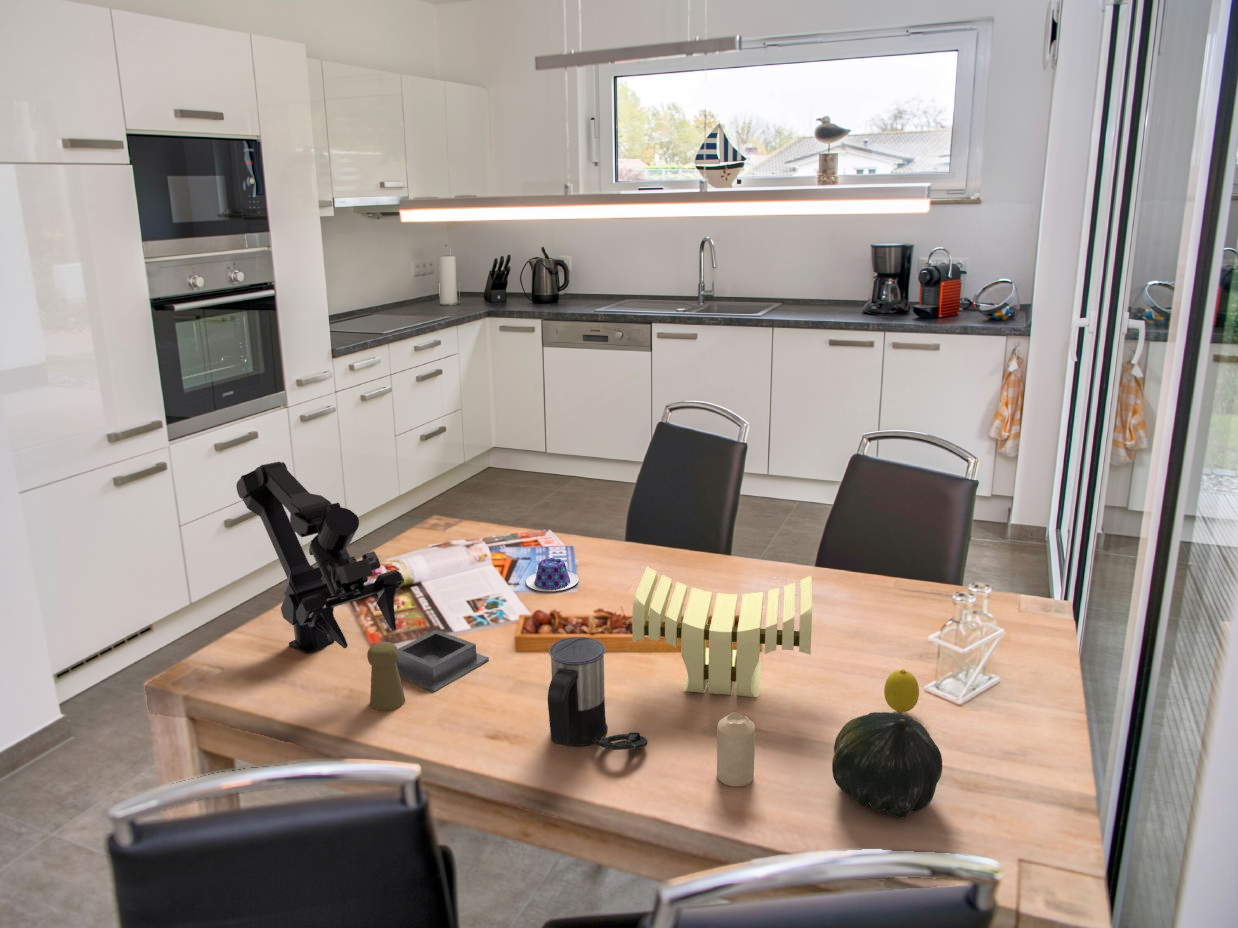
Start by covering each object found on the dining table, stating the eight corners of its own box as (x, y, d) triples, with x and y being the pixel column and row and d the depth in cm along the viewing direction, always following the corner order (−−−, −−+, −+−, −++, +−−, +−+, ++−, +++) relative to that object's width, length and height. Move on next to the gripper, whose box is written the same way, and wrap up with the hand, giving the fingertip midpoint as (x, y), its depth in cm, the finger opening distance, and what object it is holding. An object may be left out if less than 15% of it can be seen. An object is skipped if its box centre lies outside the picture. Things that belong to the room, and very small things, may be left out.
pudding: (557, 598, 200) (556, 576, 198) (515, 587, 206) (514, 565, 204) (588, 579, 209) (588, 558, 208) (547, 569, 215) (546, 548, 214)
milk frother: (554, 715, 154) (551, 635, 150) (648, 715, 153) (647, 635, 149) (545, 765, 140) (541, 679, 136) (647, 765, 139) (646, 679, 135)
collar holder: (382, 669, 170) (380, 652, 169) (438, 640, 180) (436, 624, 179) (433, 691, 162) (432, 673, 161) (488, 660, 172) (487, 643, 171)
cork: (396, 713, 155) (390, 655, 152) (363, 710, 156) (357, 652, 153) (411, 694, 161) (405, 638, 158) (379, 692, 162) (373, 636, 159)
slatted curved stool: (633, 694, 159) (631, 601, 154) (648, 652, 174) (647, 565, 169) (808, 709, 154) (812, 613, 149) (807, 664, 169) (811, 575, 164)
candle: (713, 766, 139) (714, 708, 136) (749, 763, 139) (750, 706, 136) (720, 788, 134) (721, 728, 131) (757, 786, 134) (759, 726, 131)
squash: (837, 719, 141) (839, 687, 128) (939, 737, 137) (951, 705, 124) (827, 813, 134) (828, 789, 121) (933, 835, 130) (946, 812, 117)
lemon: (899, 725, 149) (902, 681, 146) (875, 709, 153) (878, 666, 151) (924, 716, 151) (928, 673, 149) (900, 700, 156) (903, 658, 154)
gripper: (294, 555, 152) (331, 636, 147) (394, 527, 164) (431, 601, 159) (281, 585, 159) (315, 663, 155) (377, 557, 171) (412, 628, 167)
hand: (370, 638), depth 158 cm, fingers open, 9 cm apart
